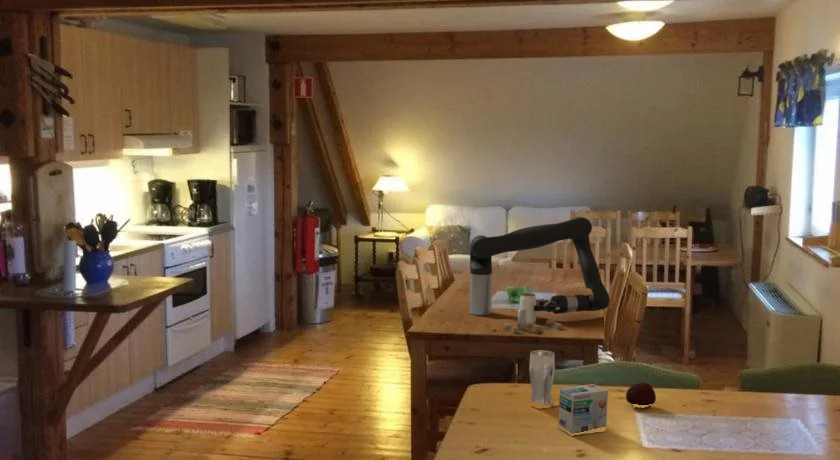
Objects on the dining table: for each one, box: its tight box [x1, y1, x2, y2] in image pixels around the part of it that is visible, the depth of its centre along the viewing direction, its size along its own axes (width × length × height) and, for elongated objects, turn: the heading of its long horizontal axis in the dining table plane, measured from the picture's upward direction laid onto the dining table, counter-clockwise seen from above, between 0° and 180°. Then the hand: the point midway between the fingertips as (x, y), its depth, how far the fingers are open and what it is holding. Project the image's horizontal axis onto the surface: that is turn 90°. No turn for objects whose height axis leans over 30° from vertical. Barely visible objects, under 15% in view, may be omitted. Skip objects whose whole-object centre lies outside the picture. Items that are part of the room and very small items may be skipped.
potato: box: [625, 382, 657, 405], centre depth 233 cm, size 7×8×7 cm
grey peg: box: [517, 308, 526, 331], centre depth 323 cm, size 3×3×8 cm
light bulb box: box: [558, 383, 609, 434], centre depth 214 cm, size 11×7×11 cm, turn 114°
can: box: [519, 292, 537, 324], centre depth 339 cm, size 6×6×12 cm
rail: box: [502, 319, 563, 335], centre depth 325 cm, size 9×21×3 cm, turn 112°
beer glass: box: [528, 349, 556, 404], centre depth 233 cm, size 7×7×15 cm
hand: (529, 306), depth 339 cm, fingers open, 8 cm apart
